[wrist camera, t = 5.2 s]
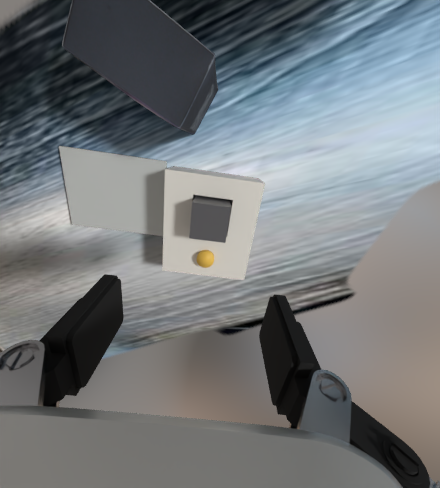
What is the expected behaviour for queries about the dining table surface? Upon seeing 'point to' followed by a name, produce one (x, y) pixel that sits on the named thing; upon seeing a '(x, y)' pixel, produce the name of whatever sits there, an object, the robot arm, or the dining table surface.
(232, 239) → the switch panel
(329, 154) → the dining table surface
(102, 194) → the lockout pad
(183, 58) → the small box
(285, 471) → the robot arm
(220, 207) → the button
